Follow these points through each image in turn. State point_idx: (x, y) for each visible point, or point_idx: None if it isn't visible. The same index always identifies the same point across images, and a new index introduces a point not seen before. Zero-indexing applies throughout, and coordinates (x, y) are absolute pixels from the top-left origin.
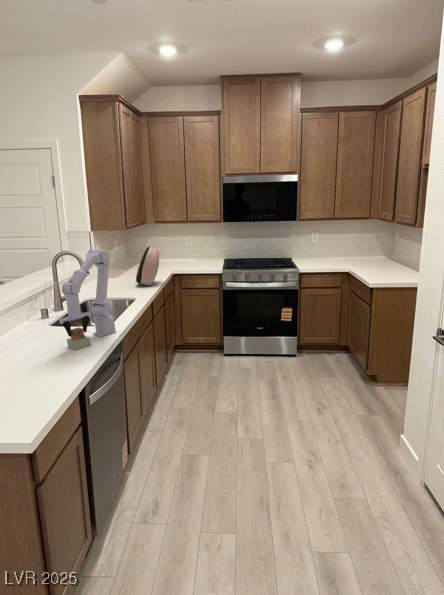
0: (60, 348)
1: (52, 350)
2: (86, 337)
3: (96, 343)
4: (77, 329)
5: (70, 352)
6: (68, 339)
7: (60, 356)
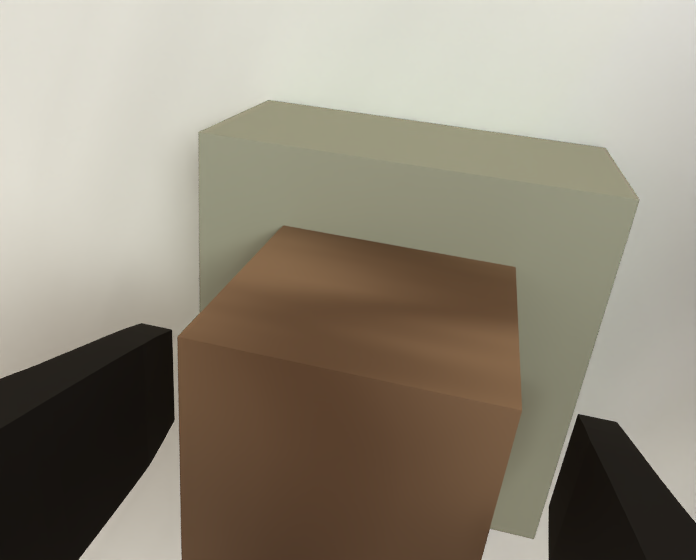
0: (140, 55)
1: (8, 12)
2: (511, 469)
3: (649, 441)
4: (338, 522)
5: (175, 365)
6: (208, 212)
7: (29, 357)
